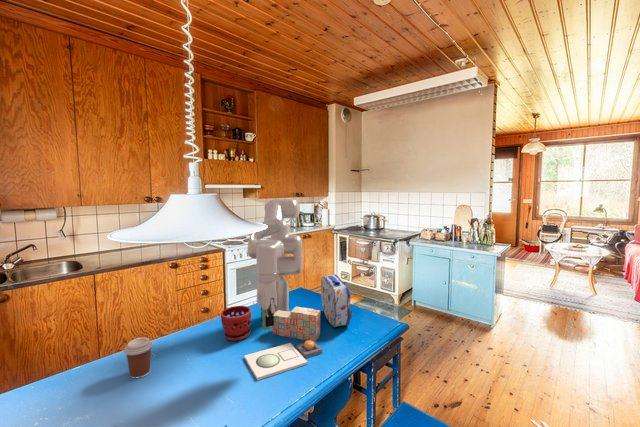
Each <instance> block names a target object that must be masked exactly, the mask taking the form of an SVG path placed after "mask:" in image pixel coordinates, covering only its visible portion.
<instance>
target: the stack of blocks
mask: <svg viewBox="0 0 640 427" xmlns="http://www.w3.org/2000/svg"><path fill="white" fill-rule="evenodd" d="M272 335H275V336H276V335H278V336H282V337H285V338H286V337H287V338H291V339H292V338H293V339H299V340H304V341H308V340H311V341H314V342H315V343H317V340H318V339H319V338H320V336H321V310H320V309H314V308H309V307H300V306H295V307H294V308H292V310H290V312H287V311H281V310H278V311H276V312H275V313H274V325H273V328H272Z"/></svg>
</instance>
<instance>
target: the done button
mask: <svg viewBox="0 0 640 427" xmlns="http://www.w3.org/2000/svg"><path fill="white" fill-rule="evenodd" d="M303 343H304V348H305V349H304V350H305V351H311V350H315V349H314V342H313V341H311V340H304V342H303Z"/></svg>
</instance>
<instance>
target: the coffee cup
mask: <svg viewBox="0 0 640 427" xmlns="http://www.w3.org/2000/svg"><path fill="white" fill-rule="evenodd" d="M153 343H154V342H152V341H151V340H150V339H149V338H148V337H143V336H142V337H138V338H134V339H131V340H130V341H129V342H127V343H126V346H125V347H124V349H123V353H124V355H126V359H127V366H128V372H129V377H130V376H131V377H134V378H136V377H142V376H144V375H146V374H147V373H149V374H150V372H151V358H152V357H151V354H152V353H151V352H152V348H153V346H154V344H153ZM149 371H150V372H149ZM147 375H148V374H147ZM147 375H146V376H147ZM131 377H130V378H131ZM144 377H145V376H144ZM142 378H143V377H142Z"/></svg>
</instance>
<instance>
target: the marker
mask: <svg viewBox="0 0 640 427" xmlns="http://www.w3.org/2000/svg"><path fill="white" fill-rule="evenodd" d="M269 307H270V306H269ZM269 311H271V310H268V313H269ZM261 312H262V321H261V324H262V325H261V328H262V330H265V331H270V330H273V326H269V327H266V326H265V316H266V310H264V309H263V308H262V311H261Z"/></svg>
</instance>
